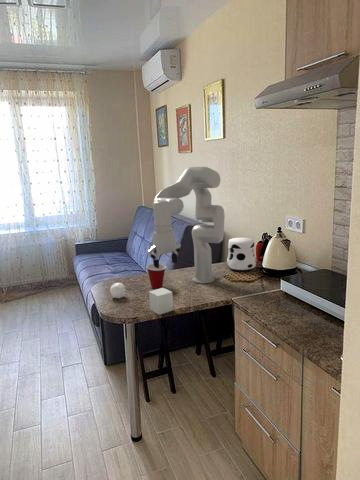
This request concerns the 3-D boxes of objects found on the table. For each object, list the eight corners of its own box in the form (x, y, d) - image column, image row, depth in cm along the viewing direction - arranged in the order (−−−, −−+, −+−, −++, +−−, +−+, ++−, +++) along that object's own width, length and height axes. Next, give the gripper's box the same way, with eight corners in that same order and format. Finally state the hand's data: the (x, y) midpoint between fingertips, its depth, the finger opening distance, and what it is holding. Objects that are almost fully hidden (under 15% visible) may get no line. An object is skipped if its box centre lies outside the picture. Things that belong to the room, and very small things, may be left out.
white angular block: (163, 305, 173) (163, 287, 172) (173, 310, 167) (172, 291, 165) (149, 309, 169) (148, 291, 167) (158, 314, 163) (157, 296, 161)
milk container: (261, 268, 225) (261, 239, 221) (244, 274, 213) (244, 244, 210) (238, 263, 237) (238, 235, 233) (221, 269, 226) (220, 240, 222)
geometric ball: (121, 301, 188) (130, 287, 189) (117, 301, 180) (126, 287, 181) (109, 293, 189) (118, 280, 190) (105, 293, 181) (113, 279, 182)
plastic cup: (164, 291, 192) (163, 269, 189) (144, 290, 194) (143, 268, 192) (169, 284, 202) (168, 263, 200) (150, 283, 205) (149, 263, 202)
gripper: (174, 224, 171) (176, 259, 175) (142, 230, 161) (145, 267, 165) (184, 226, 165) (185, 262, 169) (150, 233, 155) (153, 271, 159)
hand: (165, 265), depth 167 cm, fingers open, 9 cm apart
